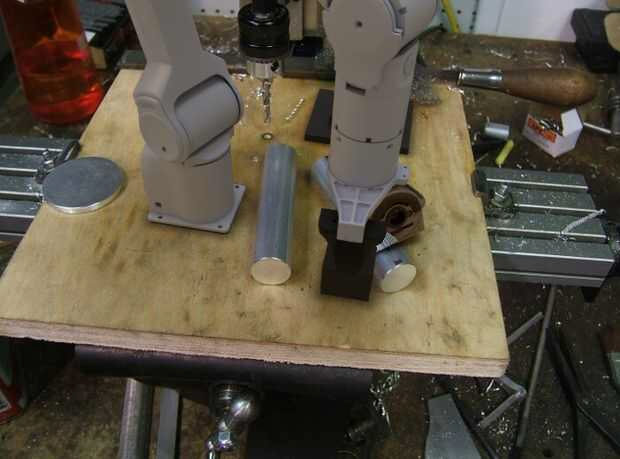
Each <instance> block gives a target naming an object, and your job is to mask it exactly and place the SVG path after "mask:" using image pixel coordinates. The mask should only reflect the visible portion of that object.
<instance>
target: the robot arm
mask: <svg viewBox="0 0 620 459" xmlns="http://www.w3.org/2000/svg"><path fill="white" fill-rule="evenodd" d="M317 1H318V3H319V4H320V5H321V6H322V7H323V8H324V9H323V10H322V12H321V13H322V14H321V15H322V16H321V17H322V24H323V29H324V33H325V35H326V38H327V39H328V41H329V43H330V45H331V48H332V50H333V53H334V66H333V70H334V71H335V78H334V89H333V90H334V104H333V117H332V129H331V143H330V144H329V156H328V157H327V160H326V164H325V165H326V167H325V172H326V177H327V181H328V184H329V187H330V190H331V194H332V197H333V201H334V204H335V207H336V209H333V208H325V207H321V208H320V212H319V216H318V223H317V228H318V233H319V234H320V236H321V237H322V238H324V240H325V241H326V244H329V246H330V249H331V253H332V257H333V262H334V266H335V269H336V271H337V272H343V273H349V274H355V275H357V274H358V273H359V272H360V270H361V269H362V267H363V265H364V263H365V260H366V258H367V256H368V255H369V253H370V252H371V251H372V250H373V249H374V248H375V247H376V246H377V245H379V244H381V243H382V242H383V240H384V238H385V236H386V233H387V225H388V222H384V221H377V220H371V219H369V217H370V216H371V214H372V213H373V212H374V210H375V209H376V208H377V206H378V205H379V204H380V202H381V201H382V200H383V199H384V197H385V196H386V195H387V193H388V192H389V191H390V189H391V188H392V187H393V186H394V185H396V184H399V185H406V184H407V183H408V184H409V181H410V172H411V168H410V166H409V165H407V164H405V163H399V162H398V161H399V157H400V153H399V152H400V146H401V141H402V135H403V130H404V125H405V119H406V114H407V108H408V103H409V100H410V97H411V91H412V87H413V86H412V85H413V82H414V76H415V67H416V62H417V58H418V52H419V51H418V50H419V46H420V40H419V38H417V36H419V35H420V34H421V33H422V32H424V31H425V30H426V29H427V28H428V26H430V24H431V23H432V22H433V20H434V19H435V17H436V15H437V13H438V11H439V8H440V7H439V6H440V0H317ZM124 3H125V6H126V8H127V11H128V14H129V16H130V19H131V22H132V25H133V27H134V30H135V32H136V35H137V38H138V41H139V44H140V47H141V49H142V51H143V54H144V57H145V59H146V65H145V67H144V69H143V71H142V73H141V75H140V77H139V79H138V81H137V83H136V85H135V87H134V89H133V92H132V97H133V100H134V104H135V105H136V109H137V113H138V127H139V131H140V134H141V137H142V139H143V141H144V142H145V143H144V145H143V149H142V152H141V159H140V173H141V178H142V183H143V187H144V192H145V196H146V201H147V205H148V209H149V213H148V214H147V220H148V221H149V222H155V223H159V224H166V225H172V226H178V227H185V228H191V229H197V230H202V231H203V230H204V231H210V232H215V233H223V234H226V233H229V232H230V228H231V226H232V224H233V222H234V219H235V217H236V215H237V211H238V210H239V207H240V205H241V202H242V199H243V197H244V195H245V193H246V186H245V185H243V184H237V183H235V181H234V180H235V179H234V169H233V168H234V167H233V157H232V156H233V155H232V143H231V142H232V138H233V137H234V136H235V126H236V125H237V124H238V123H240V122H241V121H242V119H243V117H244V114H245V103H244V99H243V96H242V93H241V92H240V90H239V87H238V86H237V85H236V83H235V82H234V80H233V79H232V77H231V75H230V72H229V69H228V66H227V63H226V60H225V59H224V58H221V57H220V56H218V55H216V54H214V53H211V52H208V51H206V50H205V49H203V46H202V42H201V40H200V37H199V33H198V30H197V27H196V24H195V20H194V16H193V14H192V10H191V7H190V4H189V0H124Z"/></svg>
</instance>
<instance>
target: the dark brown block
mask: <svg viewBox="0 0 620 459" xmlns="http://www.w3.org/2000/svg"><path fill="white" fill-rule="evenodd" d="M326 244H327V245H326V248H325V253H324V257H323V262H322V266H321V278H320V288H319V294H323V295H330V296H335V297H341V298H346V299H352V300H356V301H357V300H358V301H363V302H369V300H370V294H371V289H372V285H373V279H374V273H375V265H376V256H377V252H376V251H377V247H375V248H374V249H373V250H372V251H371V252H370V253H369V255H368V256H367V258H366V260H365V263H364V265H363V267H362V269H361V270H360V272H359V273H358V274H357V275H355V274H349V273H343V272H337V271H336V269H335V266H334V262H333V257H332V253H331V249H330V246H329V244H328V243H326Z"/></svg>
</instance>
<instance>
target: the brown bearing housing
mask: <svg viewBox="0 0 620 459" xmlns="http://www.w3.org/2000/svg"><path fill="white" fill-rule="evenodd" d="M425 207H426V198H425V197H424V195H423V194H422V193H420V191H418V190H417V189H416V188H414V187H413V186H412V185H410V184H409V182H408V183H407V184H406V185H399V184H396V185H394V186H393V187H392V188H391V189H390V191H389V192H388V193H387V195H386V196H385V197H384V199H383V200H382V201H381V202H380V204H379V205H378V206H377V208H376V209H375V210H374V212H373V213H372V214H371V216H370V217H369V219H371V220H377V221H384V222H388V225H387V232H388V233H390V234H391V235H392V236H394V237H395V238H396V239H397V240H398V241H399V242H398V243H400V242H402V241H404V240H406V239H409V238H411V237H413V236H415V235H417V234H419V233H422V232H423V231H425V229H426V227H425V221H424V215H423V208H425Z"/></svg>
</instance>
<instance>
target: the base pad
mask: <svg viewBox="0 0 620 459" xmlns="http://www.w3.org/2000/svg"><path fill="white" fill-rule="evenodd" d="M334 90H335V89H327V88H319V89H318V91H317V92H318V93H317V95H316V97H315V101H314V104H313V107H312V111H311V112H310V116H309V119H308V123H307V126H306V128H305V131H304V141H307V142H315V143H323V144H329V145H330V143H331V129H332V117H333V104H334ZM413 110H414V100H410V99H409V103H408V108H407V114H406V119H405V125H404V130H403V135H402V141H401V146H400V152H399V155H400V154H401V155H408V154H409V151H410V142H411V141H410V140H411V134H412V133H411V130H412V122H413Z"/></svg>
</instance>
